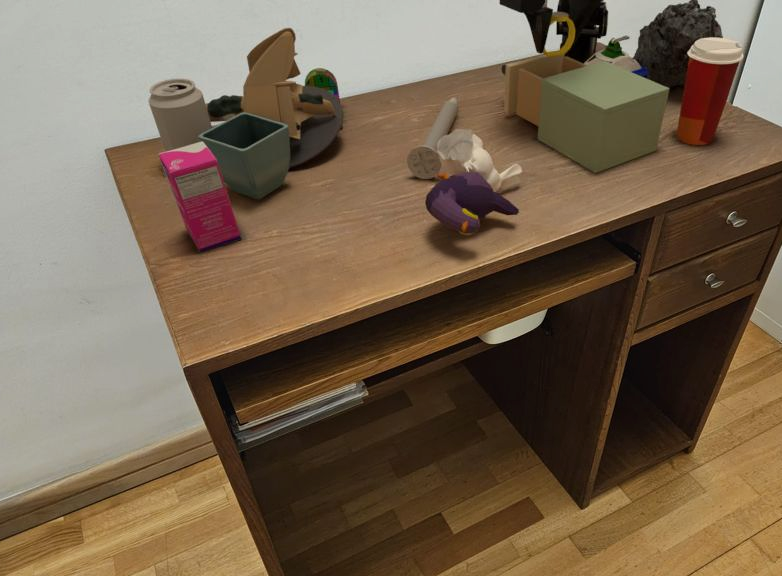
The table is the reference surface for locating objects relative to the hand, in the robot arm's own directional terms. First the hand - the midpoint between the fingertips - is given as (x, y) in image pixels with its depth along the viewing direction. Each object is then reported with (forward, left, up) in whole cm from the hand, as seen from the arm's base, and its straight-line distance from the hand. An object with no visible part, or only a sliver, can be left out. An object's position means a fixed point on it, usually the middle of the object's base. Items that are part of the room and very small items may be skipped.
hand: (555, 48), depth 100 cm
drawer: (0, -1, -10) cm, 11 cm away
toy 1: (+41, -17, -9) cm, 45 cm away
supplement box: (+59, +3, -12) cm, 60 cm away
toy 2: (+27, +12, -8) cm, 31 cm away
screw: (+21, -6, -10) cm, 24 cm away
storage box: (0, +12, -11) cm, 16 cm away
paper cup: (-14, +19, -12) cm, 26 cm away
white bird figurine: (+26, +12, -3) cm, 28 cm away
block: (+33, -21, -11) cm, 41 cm away
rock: (-26, +2, -12) cm, 28 cm away
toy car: (-14, -2, -11) cm, 19 cm away
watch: (0, 0, -1) cm, 1 cm away
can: (+54, -19, -12) cm, 59 cm away
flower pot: (+49, -6, -12) cm, 51 cm away
